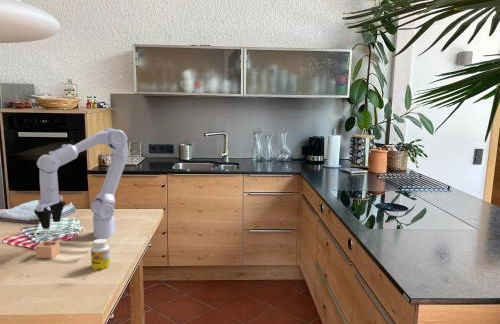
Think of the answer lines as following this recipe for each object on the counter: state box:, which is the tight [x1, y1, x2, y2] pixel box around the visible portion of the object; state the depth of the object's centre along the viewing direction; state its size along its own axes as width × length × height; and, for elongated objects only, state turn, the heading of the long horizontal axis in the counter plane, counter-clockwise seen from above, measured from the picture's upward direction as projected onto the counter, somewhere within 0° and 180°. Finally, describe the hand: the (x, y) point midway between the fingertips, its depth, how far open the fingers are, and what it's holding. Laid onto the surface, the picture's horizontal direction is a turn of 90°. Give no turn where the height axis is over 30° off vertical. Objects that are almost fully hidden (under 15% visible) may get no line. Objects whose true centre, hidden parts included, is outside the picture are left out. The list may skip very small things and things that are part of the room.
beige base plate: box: [25, 240, 94, 265], centre depth 137 cm, size 20×16×2 cm
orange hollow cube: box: [34, 240, 60, 258], centre depth 133 cm, size 5×5×5 cm
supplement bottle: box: [90, 238, 111, 271], centre depth 126 cm, size 6×6×10 cm
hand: (51, 225), depth 141 cm, fingers open, 7 cm apart
